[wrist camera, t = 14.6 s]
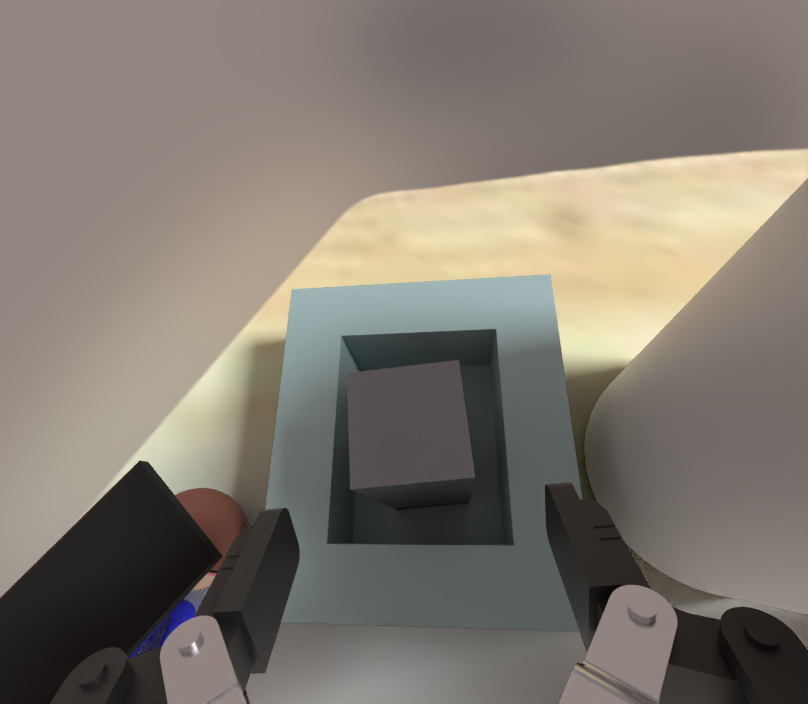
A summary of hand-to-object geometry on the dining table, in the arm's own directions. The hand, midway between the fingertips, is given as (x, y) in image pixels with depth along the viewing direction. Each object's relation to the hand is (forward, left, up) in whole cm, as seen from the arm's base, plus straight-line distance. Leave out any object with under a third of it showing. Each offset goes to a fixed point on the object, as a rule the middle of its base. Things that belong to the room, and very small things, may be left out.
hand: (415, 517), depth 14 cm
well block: (0, -4, -12) cm, 13 cm away
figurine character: (+16, +5, -12) cm, 21 cm away
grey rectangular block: (0, -3, -11) cm, 11 cm away
